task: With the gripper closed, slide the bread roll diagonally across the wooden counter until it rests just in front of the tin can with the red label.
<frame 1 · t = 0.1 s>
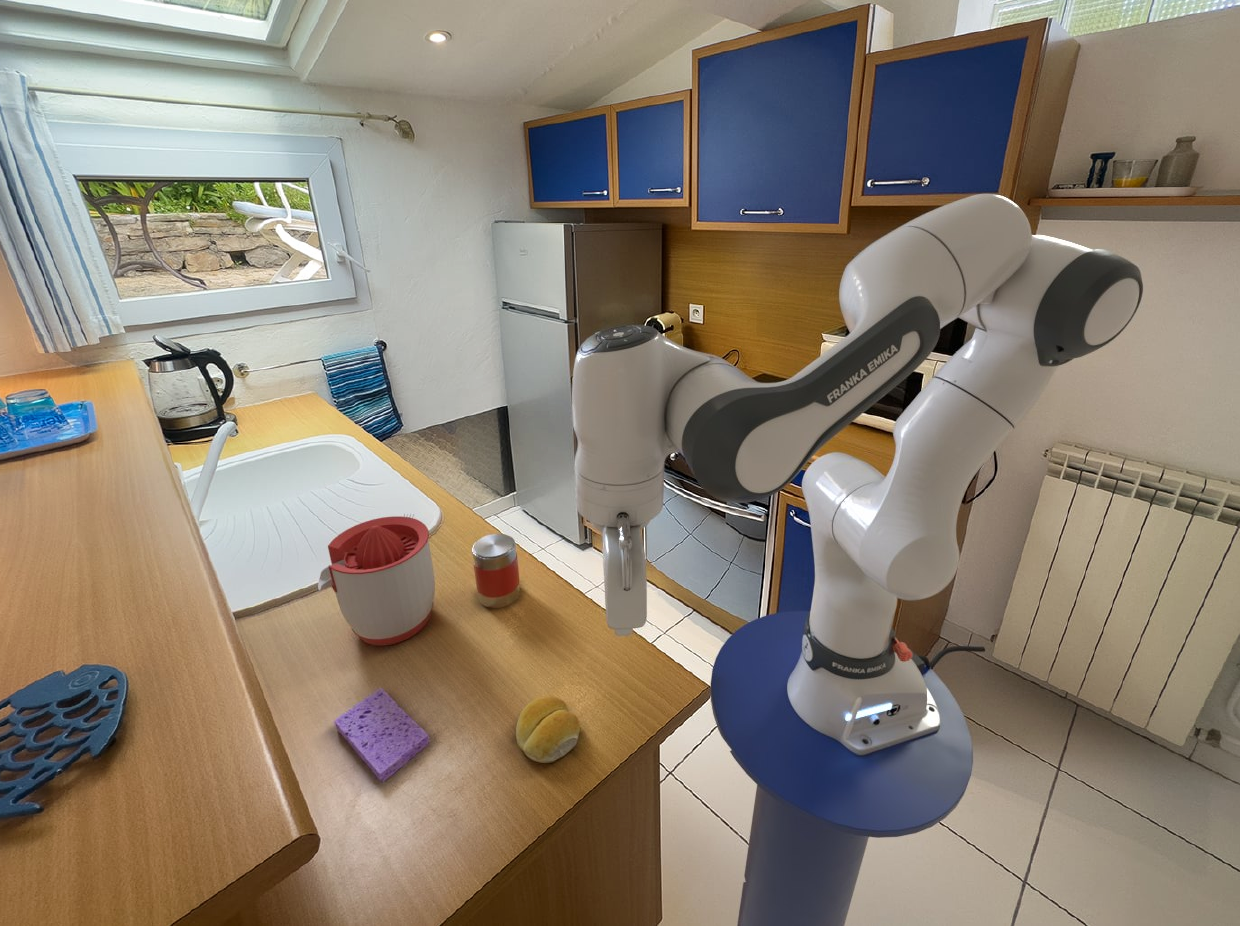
hand: (620, 598, 59), 29 cm above the counter, tool pointing down, fingers open, 8 cm apart
citrus juicer: (390, 624, 95), on the counter
sponge: (382, 737, 75), on the counter
tin can: (499, 594, 102), on the counter
fork: (394, 542, 117), on the counter
bread roll: (548, 735, 76), on the counter
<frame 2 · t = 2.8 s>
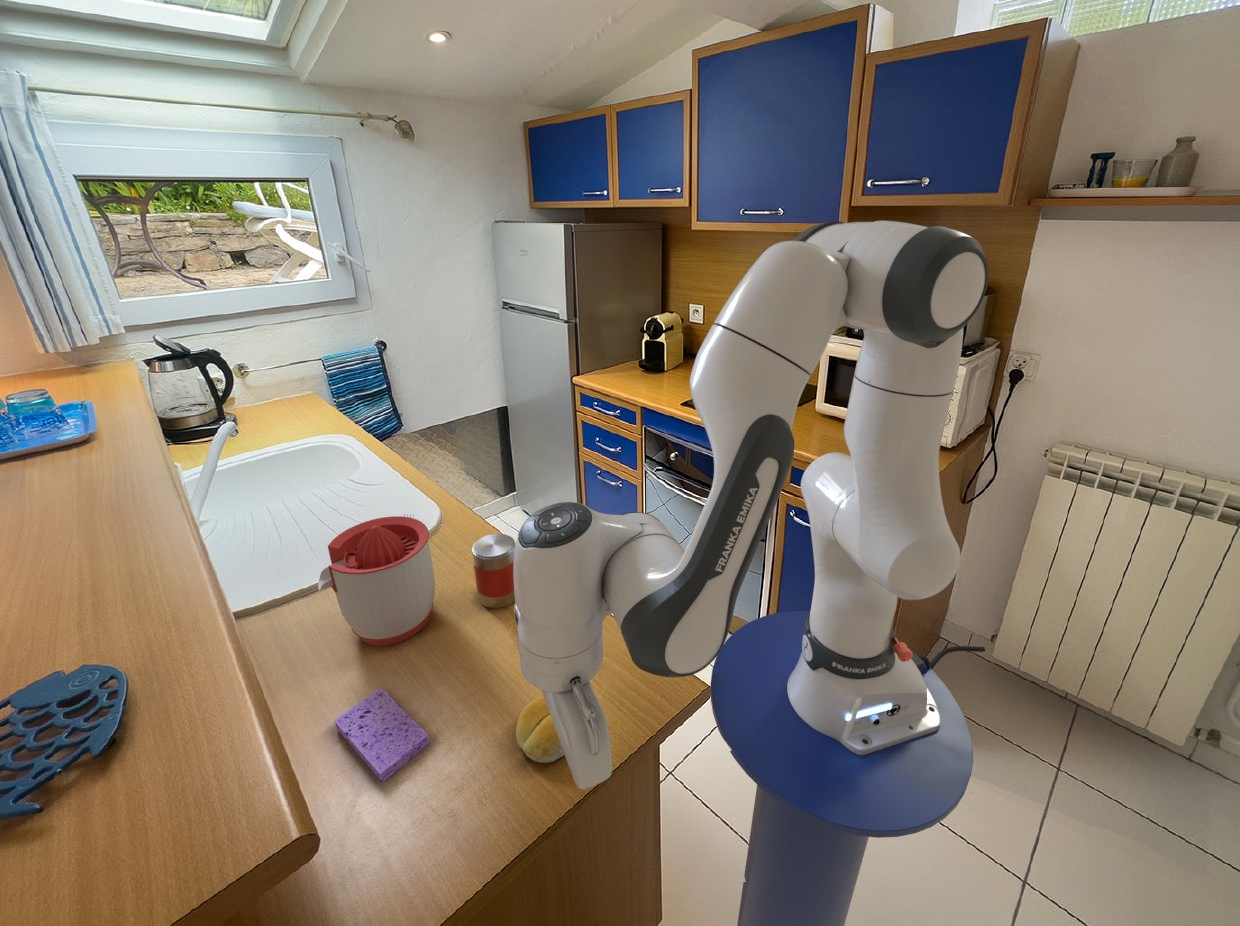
hand: (565, 737, 63), 12 cm above the counter, tool pointing down, fingers closed
nothing on the counter moved.
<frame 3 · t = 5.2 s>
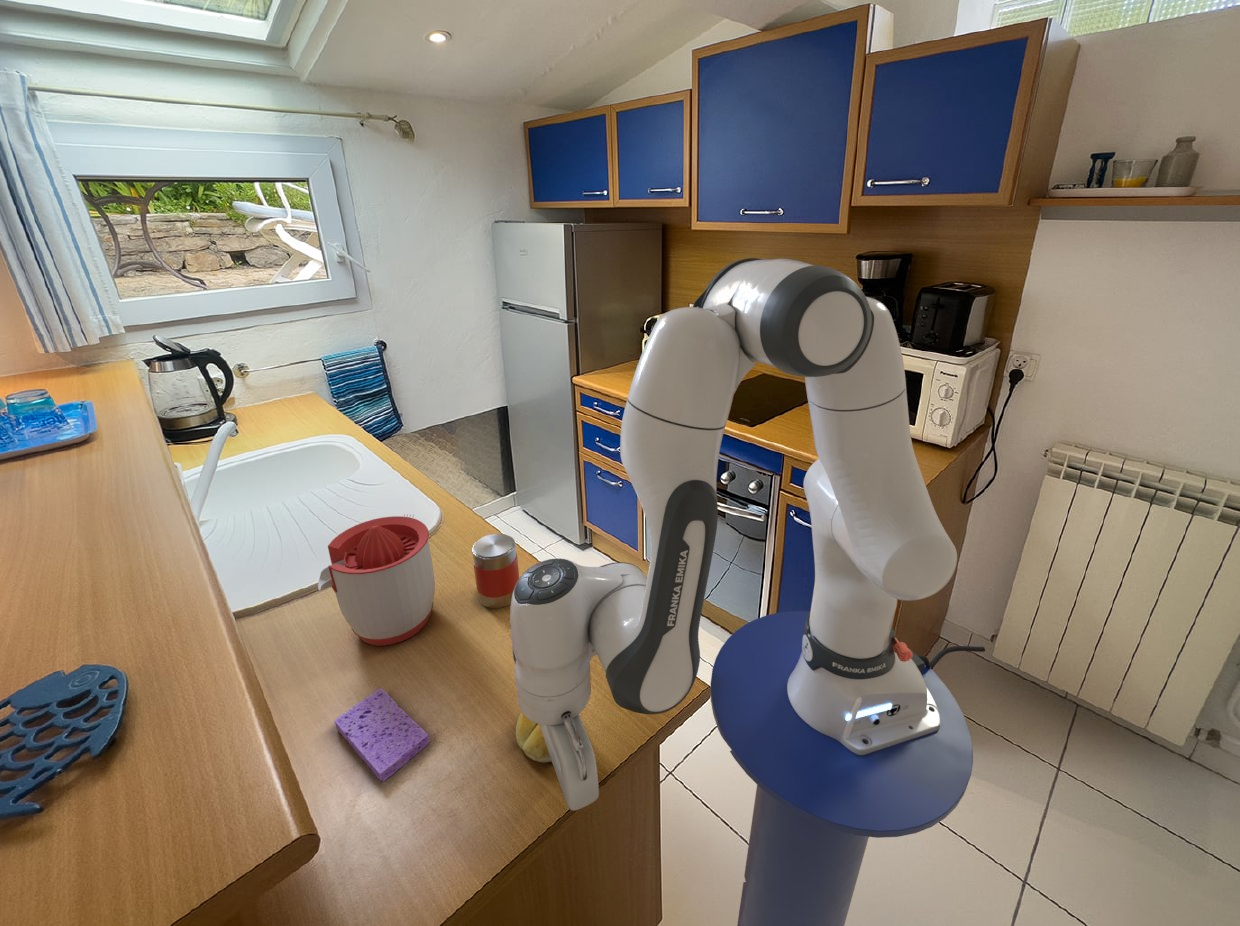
hand: (559, 760, 70), 2 cm above the counter, tool pointing down, fingers closed
bread roll: (548, 735, 76), on the counter, touching gripper
everything else where it was.
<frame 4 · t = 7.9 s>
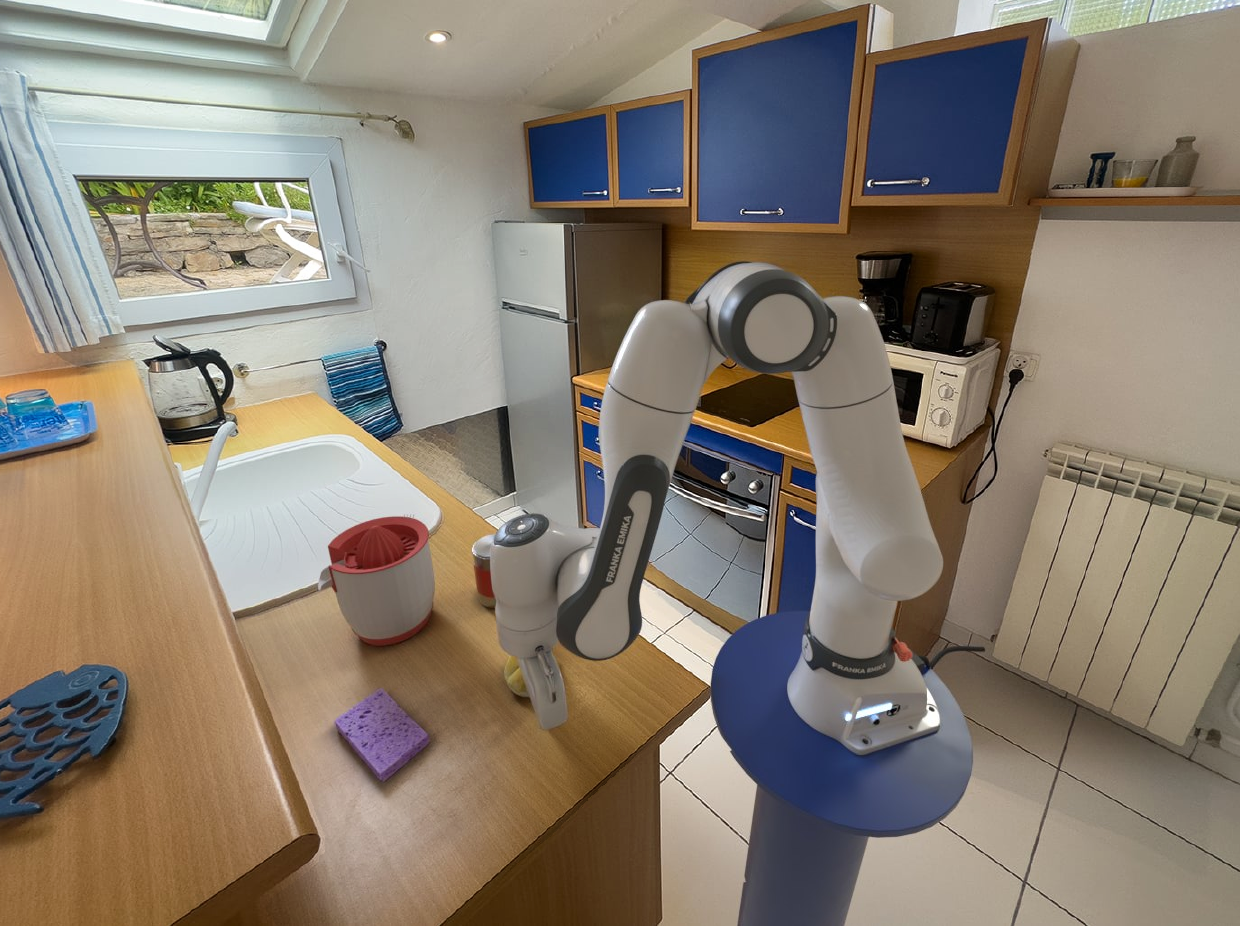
hand: (536, 696, 79), 2 cm above the counter, tool pointing down, fingers closed
bread roll: (533, 676, 85), on the counter, touching gripper
everything else where it was.
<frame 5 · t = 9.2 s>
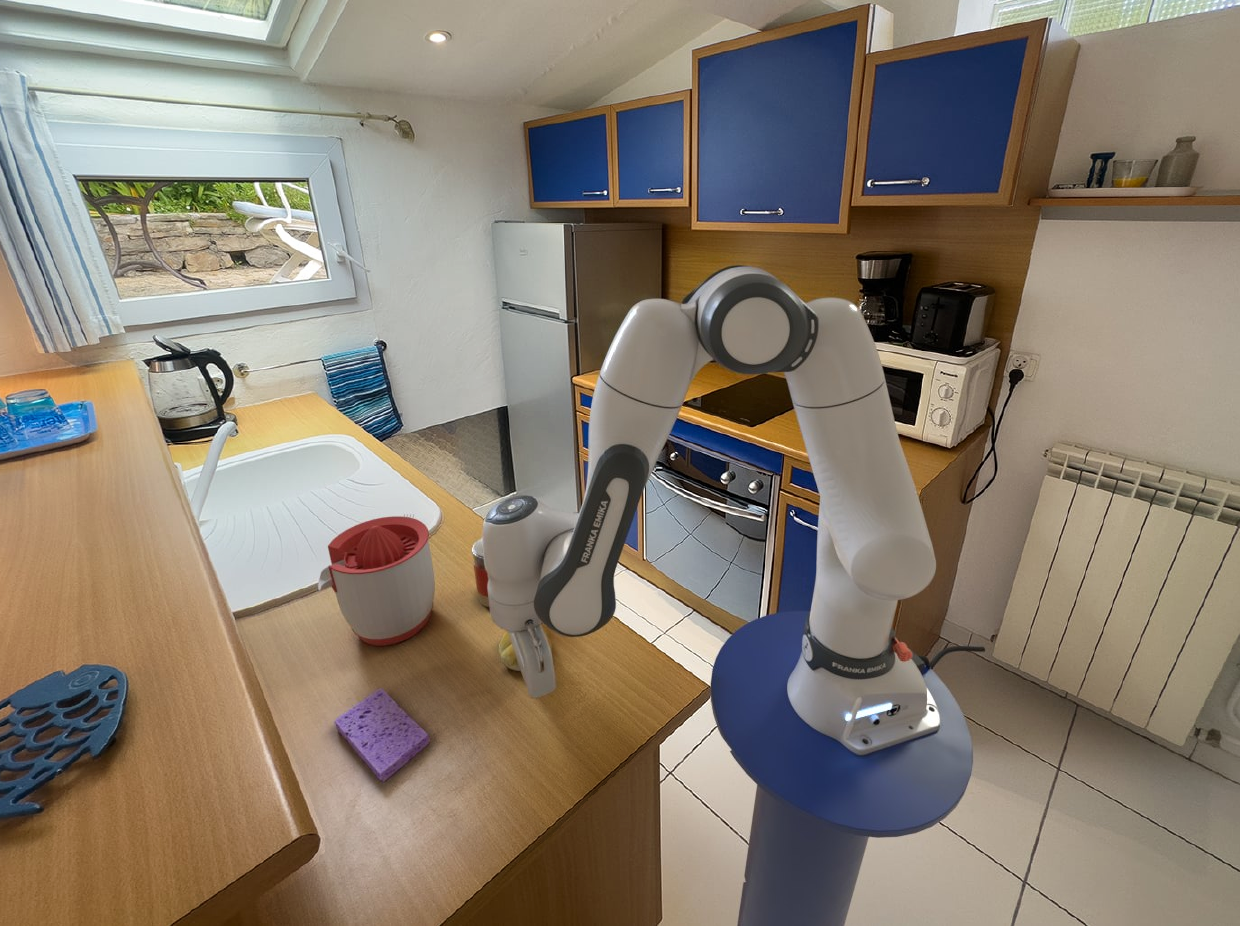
hand: (527, 670, 84), 2 cm above the counter, tool pointing down, fingers closed
bread roll: (526, 652, 89), on the counter, touching gripper
everything else where it was.
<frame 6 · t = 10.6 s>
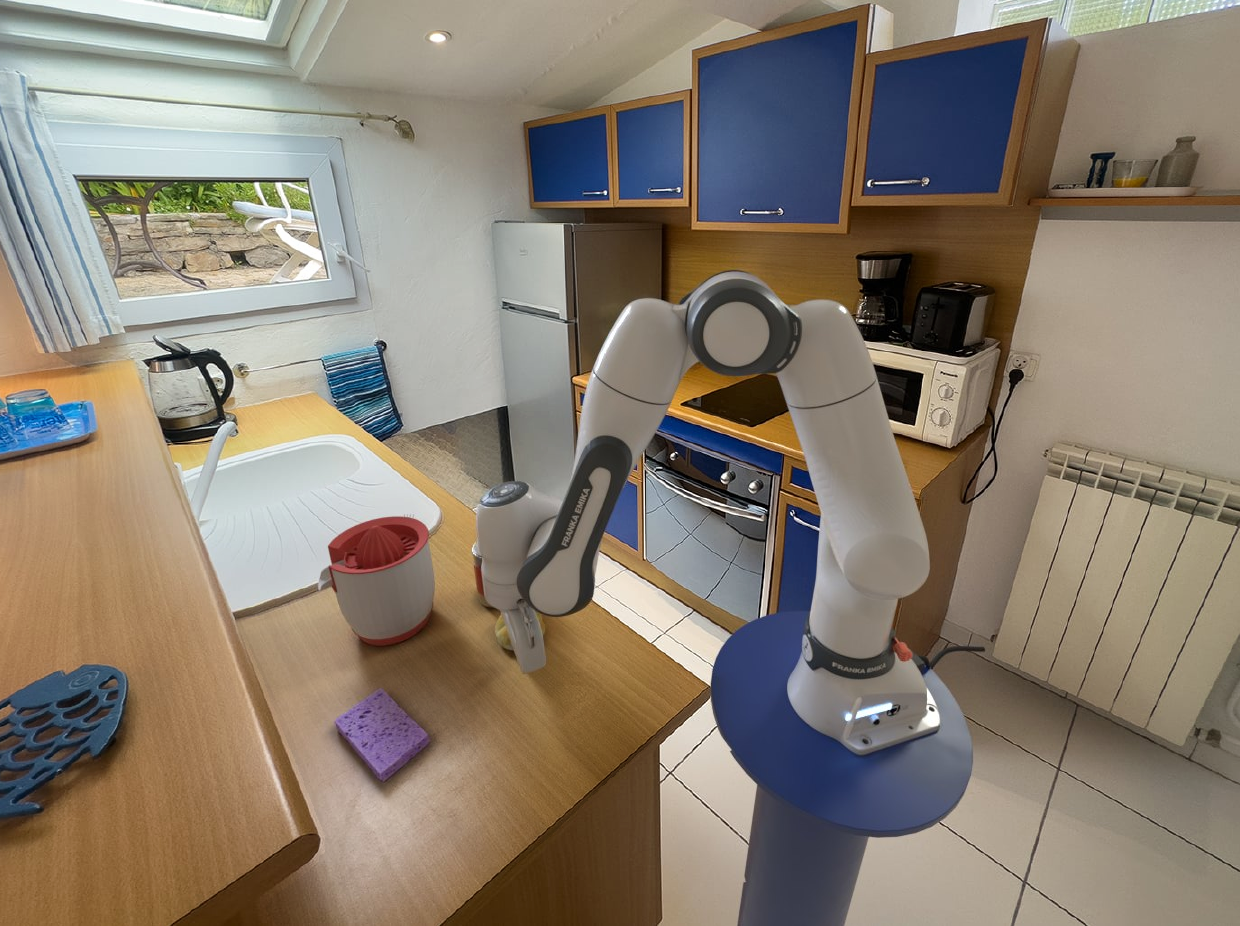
hand: (520, 650, 87), 2 cm above the counter, tool pointing down, fingers closed
bread roll: (521, 633, 93), on the counter, touching gripper
everything else where it was.
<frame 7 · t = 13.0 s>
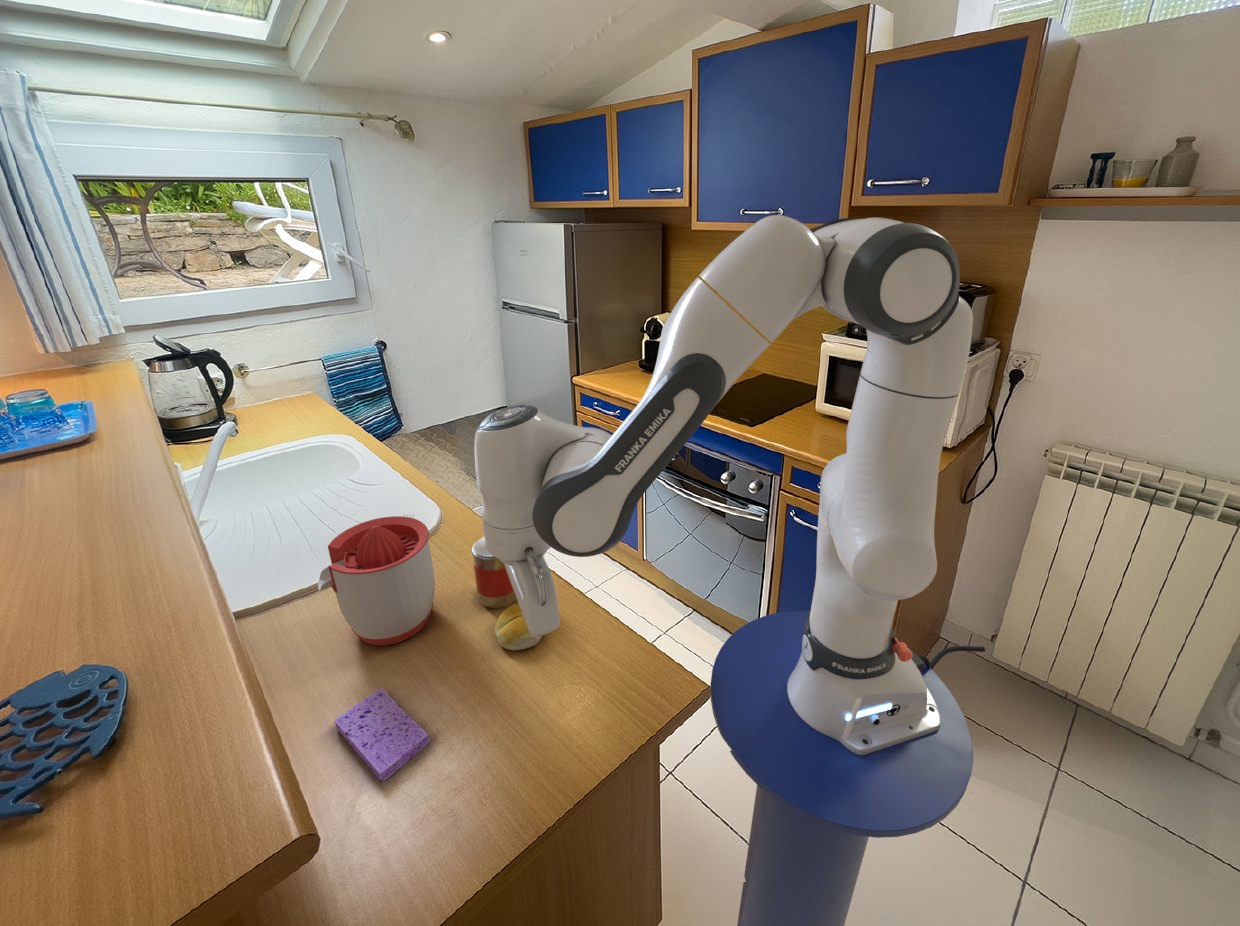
hand: (529, 614, 74), 17 cm above the counter, tool pointing down, fingers closed
bread roll: (521, 633, 93), on the counter
everything else where it was.
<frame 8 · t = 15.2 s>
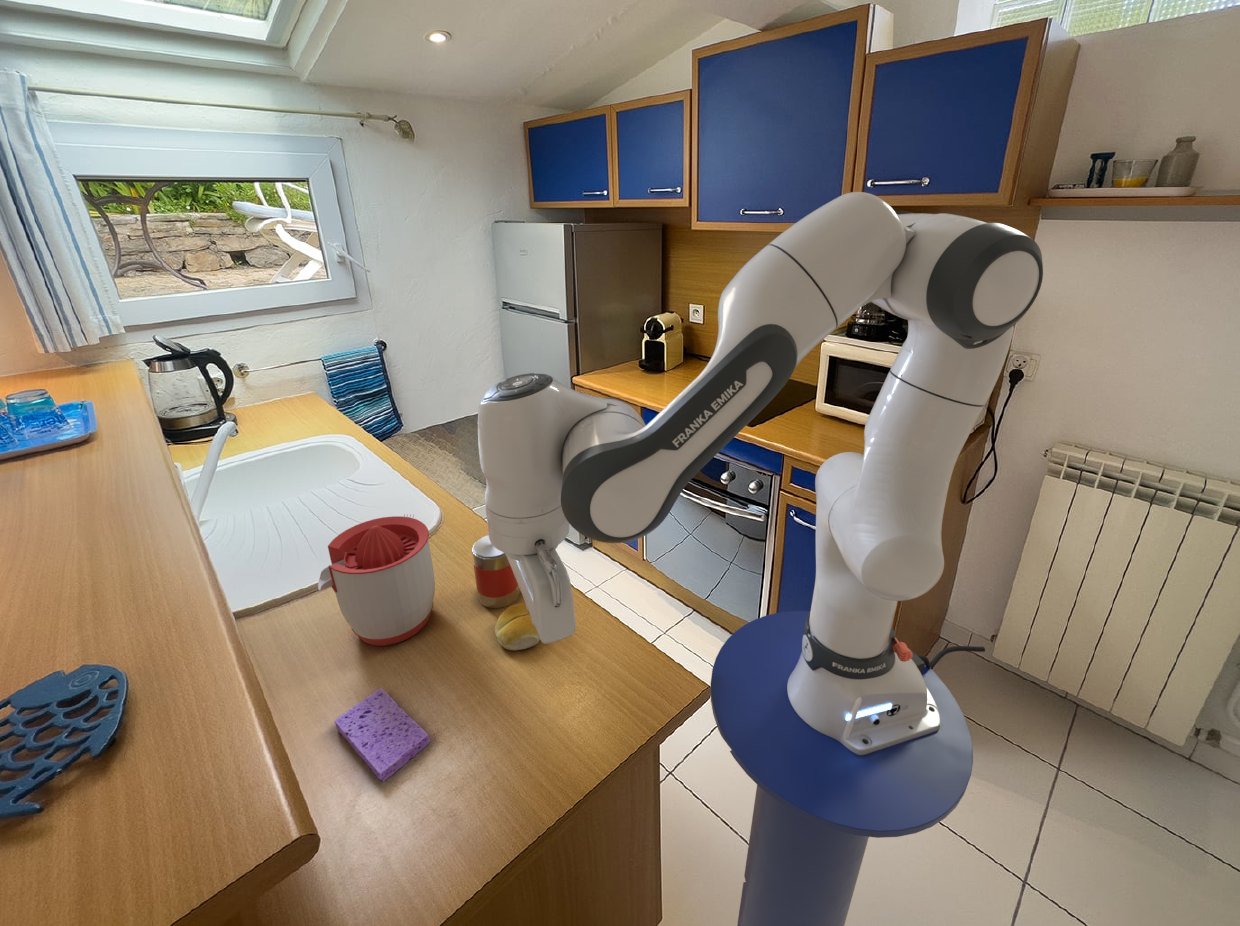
hand: (536, 616, 65), 23 cm above the counter, tool pointing down, fingers closed
nothing on the counter moved.
at the end: bread roll 11.5 cm from the tin can (horizontally); bread roll moved 20.6 cm from its start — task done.
